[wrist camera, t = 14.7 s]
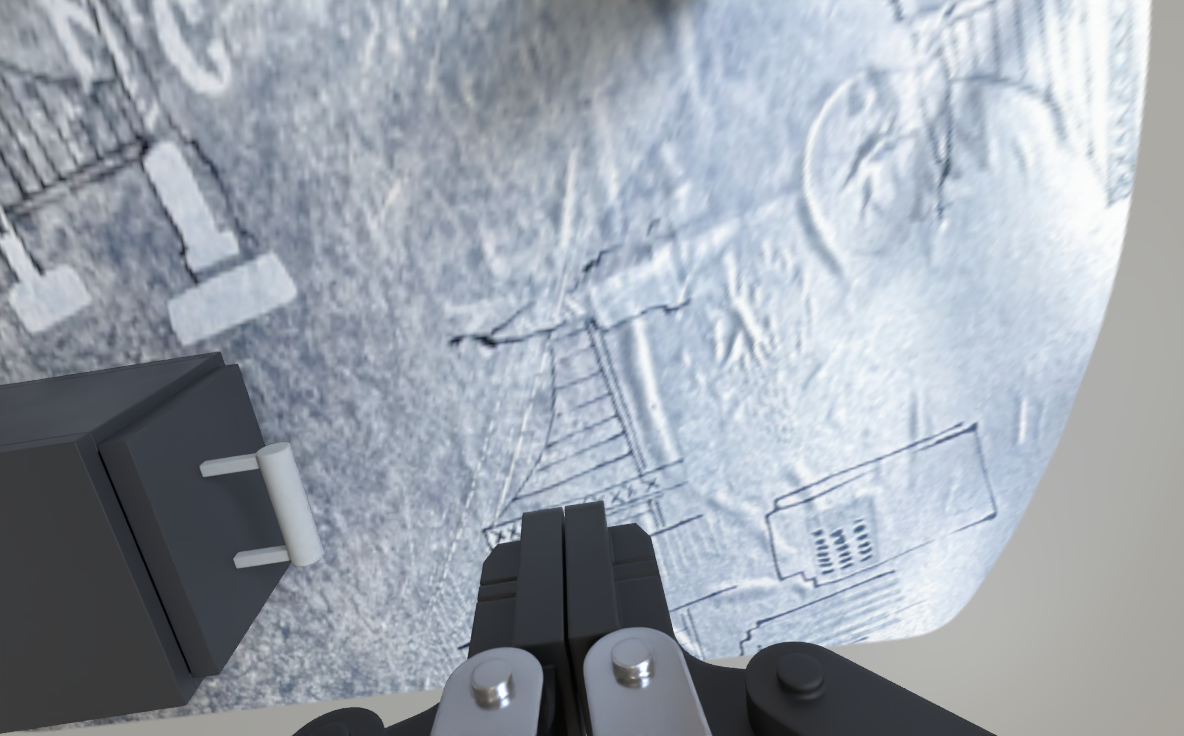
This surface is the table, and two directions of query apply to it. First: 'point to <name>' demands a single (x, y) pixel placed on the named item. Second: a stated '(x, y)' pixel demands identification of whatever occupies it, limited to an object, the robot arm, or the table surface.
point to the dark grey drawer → (210, 512)
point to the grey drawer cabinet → (80, 554)
